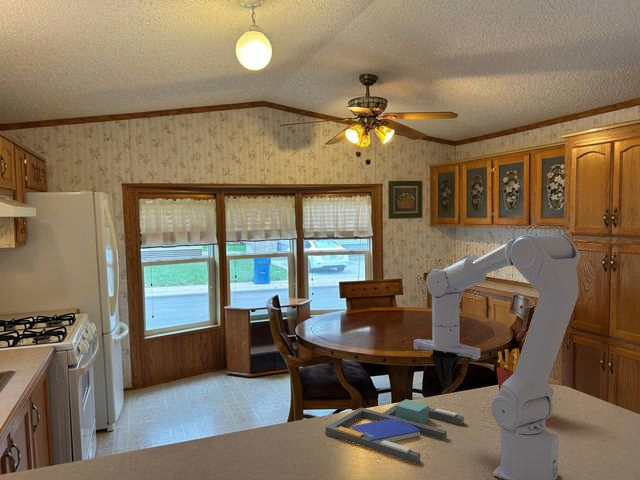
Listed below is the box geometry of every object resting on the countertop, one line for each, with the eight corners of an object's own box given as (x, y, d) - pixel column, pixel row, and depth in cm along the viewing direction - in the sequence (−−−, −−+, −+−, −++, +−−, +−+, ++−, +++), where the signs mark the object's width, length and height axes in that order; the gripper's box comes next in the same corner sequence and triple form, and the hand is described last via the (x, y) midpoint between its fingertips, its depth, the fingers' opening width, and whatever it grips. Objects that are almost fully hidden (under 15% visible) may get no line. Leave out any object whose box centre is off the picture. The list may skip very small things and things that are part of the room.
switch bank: (463, 422, 110) (463, 414, 110) (446, 437, 103) (446, 428, 103) (401, 407, 120) (401, 399, 120) (382, 419, 113) (382, 411, 113)
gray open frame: (446, 437, 103) (446, 428, 103) (416, 463, 92) (416, 454, 92) (360, 413, 116) (360, 405, 116) (325, 433, 105) (325, 425, 105)
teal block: (428, 419, 112) (428, 404, 112) (419, 426, 108) (419, 411, 108) (405, 413, 116) (405, 399, 116) (395, 420, 112) (395, 405, 112)
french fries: (515, 416, 113) (515, 353, 113) (490, 404, 121) (490, 345, 121) (543, 410, 117) (543, 349, 116) (517, 399, 124) (518, 342, 124)
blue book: (370, 439, 98) (420, 429, 104) (351, 424, 106) (398, 416, 111) (370, 447, 98) (420, 436, 104) (351, 431, 106) (398, 423, 111)
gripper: (485, 325, 103) (485, 387, 103) (423, 317, 112) (423, 375, 112) (473, 331, 97) (473, 397, 98) (409, 322, 106) (409, 383, 107)
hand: (446, 386), depth 105 cm, fingers closed
